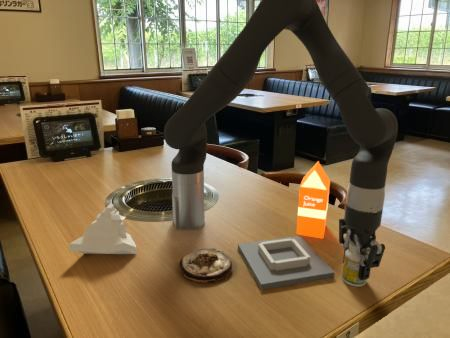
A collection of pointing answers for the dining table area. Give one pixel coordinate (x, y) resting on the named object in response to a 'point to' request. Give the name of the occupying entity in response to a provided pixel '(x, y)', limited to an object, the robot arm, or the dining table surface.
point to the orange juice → (313, 203)
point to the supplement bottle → (352, 266)
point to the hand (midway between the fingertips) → (355, 271)
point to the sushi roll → (205, 266)
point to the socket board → (284, 262)
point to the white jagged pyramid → (105, 235)
